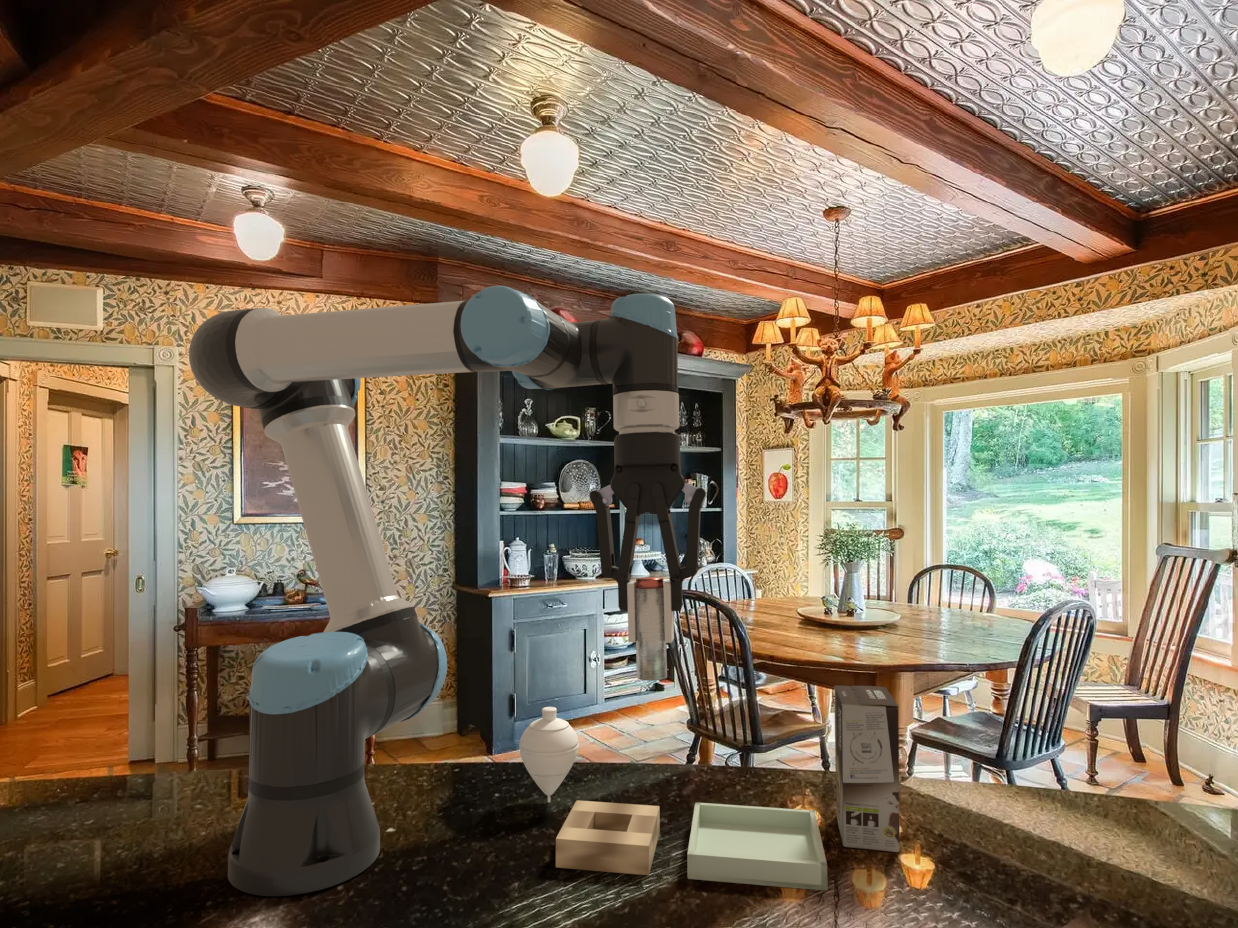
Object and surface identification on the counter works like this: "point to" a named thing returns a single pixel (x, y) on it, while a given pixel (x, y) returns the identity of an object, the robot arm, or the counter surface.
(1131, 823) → the counter surface
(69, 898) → the counter surface
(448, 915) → the counter surface
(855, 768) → the coffee box
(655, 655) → the pin
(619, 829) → the block
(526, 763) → the spinning top
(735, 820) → the tray
